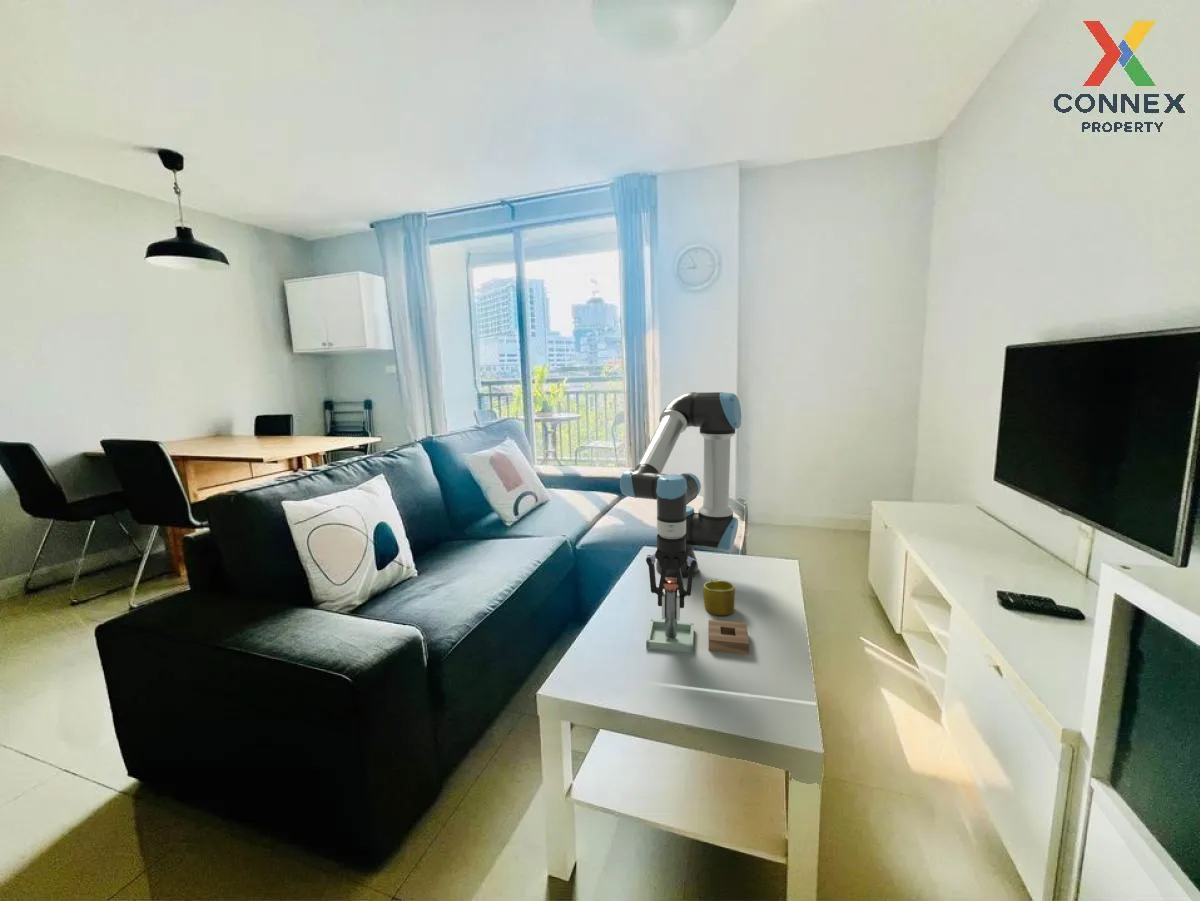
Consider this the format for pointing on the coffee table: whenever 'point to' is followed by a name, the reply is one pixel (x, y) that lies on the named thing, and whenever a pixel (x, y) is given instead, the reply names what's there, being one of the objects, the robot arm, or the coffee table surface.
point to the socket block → (728, 637)
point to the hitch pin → (670, 606)
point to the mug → (719, 597)
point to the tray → (661, 642)
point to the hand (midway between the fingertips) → (670, 617)
